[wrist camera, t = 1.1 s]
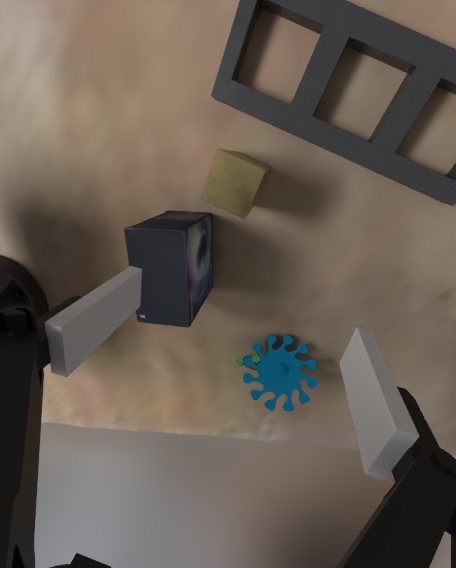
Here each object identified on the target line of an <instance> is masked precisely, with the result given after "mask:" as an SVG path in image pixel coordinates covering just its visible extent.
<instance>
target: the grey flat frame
mask: <svg viewBox="0 0 456 568" xmlns="http://www.w3.org/2000/svg"><path fill="white" fill-rule="evenodd" d="M260 8H263V9H265V10H268V11H270V12H272V13H274V14H277V15H279V16H281V17H283V18H286V19H288V20H290V21H292V22H294V23H297V24H299V25H301V26H303V27H306V28H308V29H310V30H312V31H315V32H317V33H319V34H321V35H320V38H319V40H318V42H317V45H316V47H315V49H314V52H313V54H312V56H311V59H310V61H309V63H308V66H307V68H306V70H305V73H304V75H303V77H302V80H301V82H300V84H299V87H298V89H297V91H296V94H295V96H294V98H293V101H292V103H291V105H290V106H289V105H286V104H284V103H282V102H280V101H278V100H275V99H273V98H271V97H269V96H267V95H264V94H262V93H260V92H258V91H256V90H253V89H251V88H249V87H247V86H245V85H242V84H240V83H238V82H236V80H237V77H238V74H239V71H240V68H241V65H242V62H243V59H244V56H245V53H246V50H247V47H248V44H249V41H250V38H251V35H252V32H253V29H254V26H255V23H256V20H257V17H258V14H259V11H260ZM345 45H346V46H348V47H350V48H353V49H355V50H357V51H359V52H362V53H364V54H366V55H368V56H370V57H373V58H375V59H377V60H379V61H382V62H384V63H386V64H388V65H391V66H393V67H395V68H397V69H400V70H402V71H404V72H406V73H407V75H406V77H405V78H404V80H403V82H402V84H401V85H400V87H399V89H398V91H397V92H396V94H395V96H394V98H393V99H392V101H391V103H390V105H389V106H388V108H387V110H386V112H385V113H384V115H383V117H382V118H381V120H380V122H379V124H378V125H377V127H376V129H375V131H374V132H373V134H372V136H371V138H370V139H369V141H366V140H364V139H362V138H359V137H357V136H355V135H353V134H351V133H348V132H346V131H344V130H342V129H339V128H337V127H335V126H333V125H331V124H328V123H326V122H324V121H322V120H320V119H317V118H315V117H313V116H312V115H313V113H314V111H315V109H316V107H317V105H318V103H319V101H320V98H321V96H322V94H323V92H324V90H325V88H326V86H327V83H328V81H329V79H330V77H331V75H332V73H333V71H334V68H335V66H336V64H337V62H338V60H339V58H340V56H341V53H342V51H343V49H344V47H345ZM436 86H438V87H440V88H442V89H444V90H446V91H449V92H451V93H453V94H455V95H456V49H454V48H452V47H449V46H447V45H445V44H443V43H440V42H438V41H436V40H434V39H431V38H429V37H427V36H425V35H422V34H420V33H418V32H416V31H413V30H411V29H409V28H407V27H404V26H402V25H400V24H398V23H395V22H393V21H391V20H389V19H386V18H384V17H382V16H380V15H377V14H375V13H373V12H371V11H368V10H366V9H364V8H362V7H359V6H357V5H355V4H353V3H350V2H348V1H346V0H240V2H239V5H238V9H237V12H236V15H235V19H234V22H233V25H232V28H231V32H230V35H229V38H228V42H227V45H226V48H225V51H224V55H223V58H222V61H221V65H220V68H219V71H218V74H217V78H216V81H215V84H214V88H213V91H212V94H211V96H212V97H213V98H214V99H216V100H218V101H220V102H222V103H224V104H227V105H229V106H231V107H233V108H235V109H238V110H240V111H242V112H244V113H246V114H249V115H251V116H253V117H255V118H257V119H260V120H262V121H264V122H266V123H268V124H271V125H273V126H275V127H277V128H279V129H282V130H284V131H286V132H288V133H290V134H293V135H295V136H297V137H299V138H301V139H304V140H306V141H308V142H310V143H312V144H315V145H317V146H319V147H321V148H323V149H326V150H328V151H330V152H332V153H334V154H337V155H339V156H341V157H343V158H345V159H348V160H350V161H352V162H354V163H356V164H359V165H361V166H363V167H365V168H367V169H370V170H372V171H374V172H376V173H378V174H381V175H383V176H385V177H387V178H389V179H392V180H394V181H396V182H398V183H400V184H403V185H405V186H407V187H409V188H411V189H414V190H416V191H418V192H420V193H422V194H425V195H427V196H429V197H431V198H433V199H436V200H438V201H440V202H442V203H445V204H449V205H452V206H453V205H454V204H455V203H456V164H455V165H454V166H453V168H452V169H451V170H450V172H449V173H448V174H447V176H446V177H445V176H443V175H441V174H439V173H437V172H434V171H432V170H430V169H428V168H426V167H423V166H421V165H419V164H417V163H415V162H412V161H410V160H408V159H406V158H404V157H401V156H399V155H397V154H395V151H396V150H397V148H398V146H399V145H400V143H401V142H402V140H403V138H404V137H405V135H406V134H407V132H408V130H409V129H410V127H411V126H412V124H413V122H414V121H415V119H416V118H417V116H418V114H419V113H420V111H421V110H422V108H423V107H424V105H425V103H426V102H427V100H428V99H429V97H430V95H431V94H432V92H433V91H434V89H435V87H436Z"/></svg>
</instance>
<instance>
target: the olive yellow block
mask: <svg viewBox="0 0 456 568" xmlns="http://www.w3.org/2000/svg"><path fill="white" fill-rule="evenodd" d="M270 170H271V168H270V167H268V166H266V165H264V164H262V163H259V162H257V161H255V160H253V159H251V158H249V157H246V156H244V155H242V154H240V153H238V152H235V151H230V150H224V149H217V152H216V155H215V158H214V161H213V164H212V167H211V170H210V172H209V175H208V178H207V181H206V184H205V187H204V190H203V193H202V196H201V199H202V200H204V201H206V202H209V203H211V204H213V205H215V206H217V207H219V208H222V209H224V210H226V211H228V212H230V213H232V214H235V215H237V216H239V217H241V218H243V219H245V218H246V217H247V215H248V214H249V213H250V211H251V210H252V209H253V208H254V206H255V204H256V202H257V200H258V197H259V195H260V193H261V191H262V188H263V186H264V184H265V182H266V179H267V177H268V175H269V172H270Z"/></svg>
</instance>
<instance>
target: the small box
mask: <svg viewBox="0 0 456 568" xmlns="http://www.w3.org/2000/svg"><path fill="white" fill-rule="evenodd" d="M124 232H125V239H126V246H127V253H128V260H129V267H130V266H133V267H137V268H141V269H142V279H141V300H140V307H139V308H138V309H137V310H136V314H137V321H138V322H142V323H152V324H161V325H170V326H178V327H187V328H189V327H190V325H191V323H192V322H193V320H194V318H195V317H196V315H197V313H198V311H199V310H200V308H201V306H202V305H203V303H204V301H205V299H206V298H207V296H208V294H209V293H210V291H211V289H212V288H213V265H212V264H213V263H212V213H205V212H186V211H166V212H165V213H163V214H161V215H158V216H156V217H153V218H151V219H148V220H146V221H144V222H142V223H139V224H137V225H133V226H131V227H127V228H125V229H124Z"/></svg>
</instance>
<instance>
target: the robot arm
mask: <svg viewBox="0 0 456 568" xmlns="http://www.w3.org/2000/svg"><path fill="white" fill-rule="evenodd" d="M141 279H142V269H141V268H137V267H133V266H130V267H128V268H127V269H125V270H123V271H122V272H120V273H119V274H117V275H116V276H114V277H113V278H111V279H110V280H108V281H107V282H105V283H104V284H102V285H101V286H99V287H98V288H96V289H95V290H93V291H91V292H90V293H88V294H87V295H85V296H84V297H81V296H76V297H73V298H70V299H67V300H66V301H64V302H63V303H61V304H60V305H58V306H56V307H55V308H53V310H52V309H51V310H50V311H48V307H47V302H46V299H45V297H44V294H43V292H42V290H41V289H40V287H39V285H38V284H37V283H36V281H35V280H34V279H33V278H32V276H31V275H30V274H29V273H28V272H27V271H26V270H24V269H23V268H22V267H21V266H19V265H18V264H17V263H15V262H13V261H12V260H10V259H7V258H5V257H2V256H0V568H35V552H34V532H35V515H36V498H37V482H38V465H39V447H40V432H41V415H42V398H43V381H44V371H43V368H44V367H45V366H47V365H48V364H49V363H50V365H51V372H52V373H55V374H58V375H61V376H64V377H68V376H69V375H70V374H71V373H72V372H73V371H74V370H75V369H76V368H77V367H78V366H79V365H80V364H81V363H82V362H83V361H84V360H85V359H86V358H87V357H88V356H89V355H90V354H91V353H92V352H94V351H95V350H96V349H97V348H98V347H99V346H100V345H101V344H102V343H103V342H104V341H105V340H106V339H107V338H108V337H109V336H110V335H111V334H112V333H113V332H114V331H115V330H116V329H117V328H118V327H119V326H120V325H121V324H123V323H124V322H125V321H126V320H127V319H128V318H129V317H130V316H131V315H132V314H133V313H134V312H135V311H136V310H137V309H138V308H139V307H140V300H141ZM339 364H340V368H341V373H342V377H343V381H344V386H345V390H346V394H347V399H348V403H349V407H350V412H351V416H352V420H353V425H354V429H355V433H356V438H357V442H358V446H359V451H360V455H361V459H362V463H363V468H364V472H365V475H369V476H372V477H375V478H378V479H381V480H384V481H385V480H386V479H387V477H388V476H389V475H390V474H391V472H392V473H393V477H394V480H395V482H396V483H395V484H394V485H393V487H392V488H391V489H390V490H389V492H388V493H387V494H386V495H385V496H384V498H383V501H382V502H381V504H380V505H379V506H378V508H377V509H376V511H375V512H374V514H373V515H372V516H371V518H370V519H369V521H368V522H367V524H366V525H365V526H364V528H363V529H362V531H361V532H360V534H359V535H358V537H357V538H356V539H355V541H354V542H353V544H352V545H351V547H350V548H349V549H348V551H347V552H346V554H345V555H344V556H343V558H342V559H341V561H340V562H339V564H338V565H337V566H336V568H429V567H430V564H431V562H432V559H433V557H434V555H435V553H436V550H437V548H438V545H439V543H440V541H441V539H442V536H443V534H444V532H445V531H446V532H448V533H449V534H451V568H456V459H455V458H454V457H453V456H451V455H450V454H449V453H447V452H446V451H444V450H443V449H441V448H440V447H439V445H438V443H437V441H436V439H435V437H434V435H433V433H432V431H431V429H430V428H429V426H428V424H427V422H426V420H425V419H424V416H423V414H422V412H421V411H420V408H419V406H418V404H417V402H416V400H415V399H414V397H413V396H412V395H411V394H410V393H409V392H408V391H407V390H406V389H404V388H400V387H397V386H396V384H395V382H394V380H393V378H392V375H391V373H390V371H389V369H388V367H387V365H386V362H385V360H384V358H383V356H382V354H381V351H380V349H379V347H378V345H377V343H376V341H375V338H374V336H373V334H372V332H371V330H368V329H365V328H361V327H356V329H355V331H354V333H353V336H352V338H351V340H350V342H349V344H348V346H347V348H346V350H345V352H344V354H343V356H342V358H341V361H340V363H339ZM50 568H111V567H110V566H108V565H105V564H103V563H100V562H98V561H95V560H93V559H90V558H88V557H86V556H83V555H80V554H78V553H76V555H75V557H74V559H73V560H72V562H71V564H64V565H58V566H54V567H50Z"/></svg>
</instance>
